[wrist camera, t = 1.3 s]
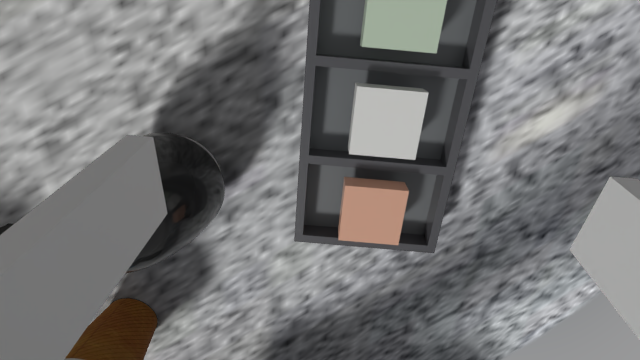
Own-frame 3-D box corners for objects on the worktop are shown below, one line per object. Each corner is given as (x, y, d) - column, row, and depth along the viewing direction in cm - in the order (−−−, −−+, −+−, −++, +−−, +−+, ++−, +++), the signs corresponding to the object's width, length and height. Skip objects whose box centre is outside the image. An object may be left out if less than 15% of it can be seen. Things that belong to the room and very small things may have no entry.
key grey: (410, 152, 32) (415, 159, 30) (347, 146, 32) (348, 154, 30) (422, 88, 30) (428, 92, 28) (355, 82, 30) (357, 86, 28)
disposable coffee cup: (160, 353, 48) (111, 451, 37) (89, 331, 47) (15, 425, 36) (178, 302, 45) (129, 393, 34) (101, 276, 44) (23, 362, 33)
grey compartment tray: (424, 231, 40) (434, 253, 36) (297, 221, 40) (294, 241, 36) (487, -42, 30) (509, -51, 26) (316, -58, 29) (314, -69, 26)
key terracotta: (394, 233, 36) (398, 245, 34) (338, 229, 36) (338, 240, 34) (404, 181, 33) (409, 191, 32) (344, 176, 33) (345, 185, 32)
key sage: (429, 51, 29) (436, 53, 27) (359, 45, 29) (361, 46, 27) (445, -29, 27) (453, -33, 25) (369, -36, 27) (372, -40, 25)
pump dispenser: (240, 132, 36) (183, 201, 22) (228, 221, 40) (173, 327, 26) (136, 109, 35) (10, 166, 21) (134, 202, 39) (27, 300, 25)
